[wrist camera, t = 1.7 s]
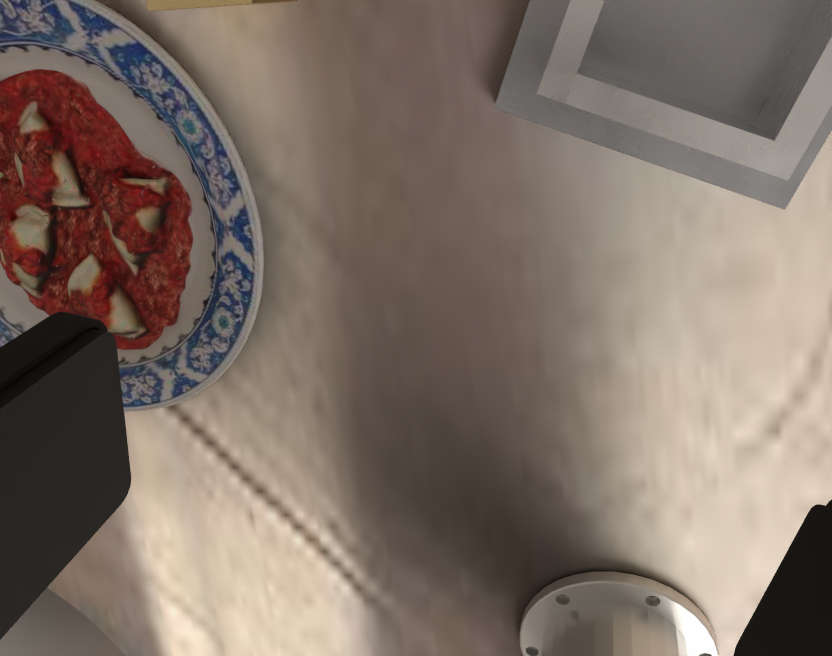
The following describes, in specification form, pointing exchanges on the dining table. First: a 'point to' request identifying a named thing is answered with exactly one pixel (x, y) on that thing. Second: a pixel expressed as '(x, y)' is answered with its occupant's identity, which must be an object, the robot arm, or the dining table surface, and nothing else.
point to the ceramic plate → (122, 199)
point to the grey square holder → (683, 84)
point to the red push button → (202, 3)
